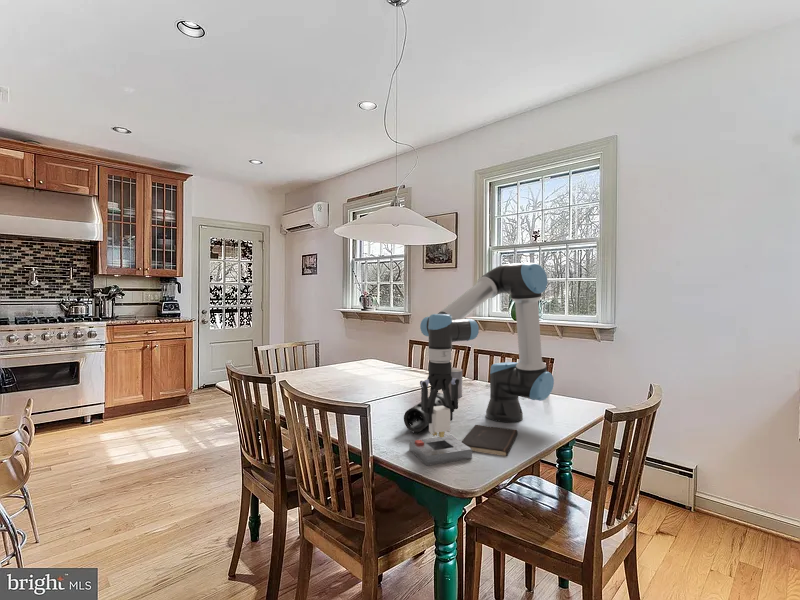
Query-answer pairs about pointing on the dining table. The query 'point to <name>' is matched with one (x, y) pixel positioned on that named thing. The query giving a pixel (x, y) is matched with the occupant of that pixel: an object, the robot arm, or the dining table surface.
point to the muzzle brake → (420, 415)
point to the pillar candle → (458, 375)
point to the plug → (441, 420)
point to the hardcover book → (490, 439)
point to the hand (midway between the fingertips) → (439, 431)
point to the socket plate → (440, 450)
